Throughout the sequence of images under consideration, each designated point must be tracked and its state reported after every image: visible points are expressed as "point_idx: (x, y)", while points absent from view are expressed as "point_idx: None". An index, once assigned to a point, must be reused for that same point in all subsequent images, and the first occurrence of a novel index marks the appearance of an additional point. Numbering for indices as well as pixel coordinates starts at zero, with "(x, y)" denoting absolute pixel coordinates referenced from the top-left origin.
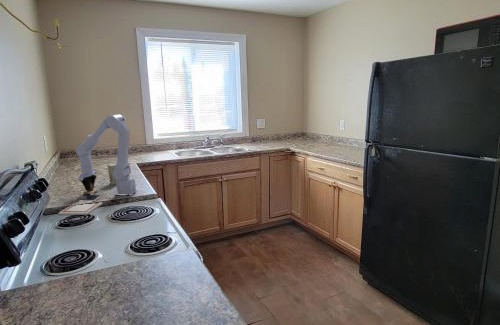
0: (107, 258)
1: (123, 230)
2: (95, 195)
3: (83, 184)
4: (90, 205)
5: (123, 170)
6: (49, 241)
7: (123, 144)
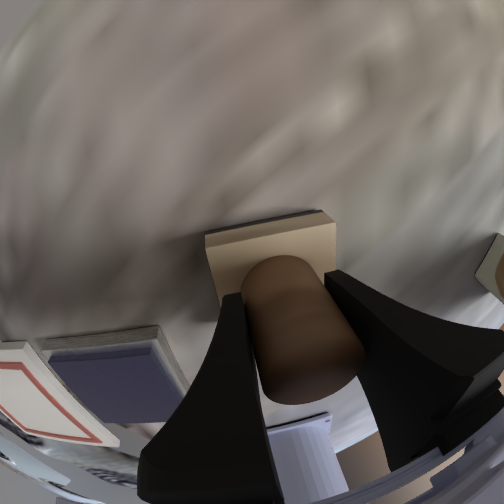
0: (18, 467)
1: (63, 478)
2: (167, 406)
3: (200, 376)
4: (61, 426)
5: None
6: None
7: None
